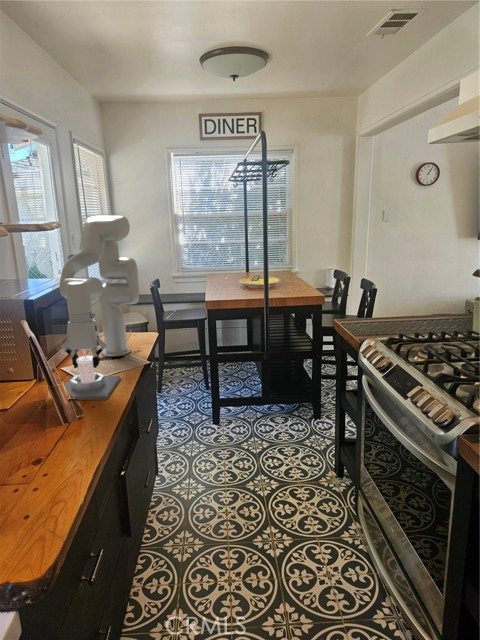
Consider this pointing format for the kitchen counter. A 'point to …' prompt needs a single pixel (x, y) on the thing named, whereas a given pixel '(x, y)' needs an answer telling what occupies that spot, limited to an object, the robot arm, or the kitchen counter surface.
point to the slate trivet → (96, 394)
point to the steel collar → (87, 383)
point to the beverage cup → (86, 368)
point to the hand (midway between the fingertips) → (86, 366)
